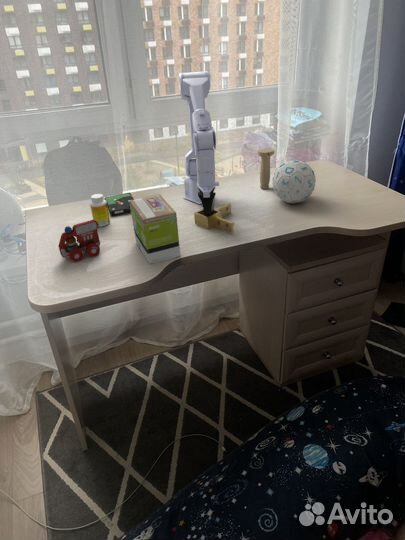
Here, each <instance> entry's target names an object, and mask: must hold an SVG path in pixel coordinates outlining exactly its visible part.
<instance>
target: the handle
mask: <svg viewBox="0 0 405 540" xmlns="http://www.w3.org/2000/svg"><path fill="white" fill-rule="evenodd" d="M256 152H257V155H258V156H259V157H260V158H261V159H260V168H259V169H260V171H259V184H260V185H259V187H260V189H262V190H267V189H269V187H270V185H269V184H270V182H271V181H270V179H271V156H274V154H275V149H274V148H268V147H267V148H260V149H257V151H256Z"/></svg>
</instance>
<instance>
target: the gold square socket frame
mask: <svg viewBox="0 0 405 540" xmlns="http://www.w3.org/2000/svg"><path fill="white" fill-rule="evenodd" d="M231 213H232V203H231V202H229V203H226V204H224V205H222V206H219V207H217V208H214V214H213V215H211V216H209V217H206V216H204V210H203V208H202V209H200V210H198V211H195V212H194V213H193V216H194V217H193V219H194V224H195V225H197V226H200V227H202V228H204V229H207V230H210V229H211V228H213V227H215V228H218V229H220V230H223V231H225V232H227V233H230V234H234V229H235V228H234V223H235V222H233V221H230V220H228V219H225V218H223V217H226V216H228V215H229V214H231Z"/></svg>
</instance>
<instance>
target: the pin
mask: <svg viewBox="0 0 405 540" xmlns="http://www.w3.org/2000/svg"><path fill="white" fill-rule="evenodd" d="M214 199H215V198H214ZM214 199H213V203H212V209H211V213H204V216H206V217H209V216H211V215H213V214H214V209H215V200H214Z"/></svg>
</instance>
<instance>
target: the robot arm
mask: <svg viewBox="0 0 405 540" xmlns="http://www.w3.org/2000/svg"><path fill="white" fill-rule="evenodd" d="M178 83H179V84H178V85H179V92H180V98H181V100H184V101H186V104H187V106H188V117H189V118H188V119H189V130H190V144H191V145H190V146H191V149H190V150H189V151H188V152H186V154H185V156H184V170H185V177H184V179H183V183H184V184H183V185H184V186H183V187H184V196H183V199H185V200H187V201H190V202H193V203H195V204H197V205H202V209H203V210H204V213H211V209H212V203H213V199H215V197H216V192H215V190H216V187H218V186H220V182H219V181H216V164H215V162H216V160H215V150H216V149H217V135H216V132H215V129H214V127H213V125H212V118H211V113H210V112H209V111H208V110H206V101H205V99H206V98H208V95H209V93H210V90H211V75H210V72H209V71H208V70H205V71H193V72H191V71H190V72H180V73H179V74H178Z"/></svg>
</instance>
